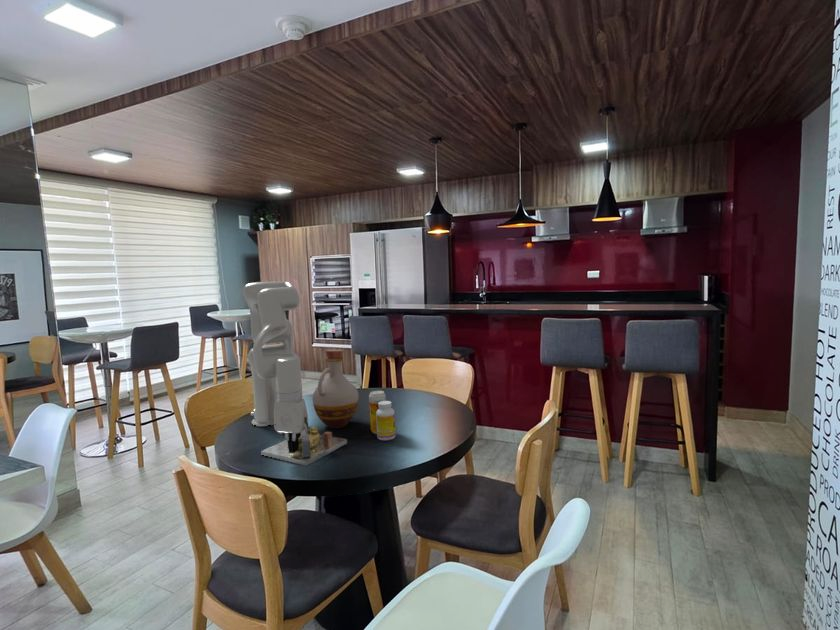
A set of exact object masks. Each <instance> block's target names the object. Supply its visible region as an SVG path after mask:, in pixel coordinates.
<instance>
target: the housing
mask: <svg viewBox="0 0 840 630" xmlns="http://www.w3.org/2000/svg"><path fill="white" fill-rule="evenodd" d="M319 436H320V443H319V444H318V445H317V446H315V447H313V448H310V452H311V456H307V457H303V454H302V450H297V451H296V452H295V453H292V452H291V453H289V449H288V441H287V440H286V439H284V440H283V441H280V442H278V443H276V444H274V445H272V446H270V447H267V448H265V449H263V450H261V451H260V453H261V455H264V456H263V457H265V456H268V457H267V458H270V457H272V458H271V459H274V458H277V459H276V460H278V459H280V461H283V460H284V461H283V462H287V461H288V462H287V463H291V462H292V463H293V464H297V465H301V466H304V467H305V466H306V467H307V466H308V465H310V464H312V463H314V462H316V461H317V460H319V459H321V458H323V457H325V456H327V455H329V454H330V453H332V452H334V451H336V450H337V449H339V448H341V447H343V446H344V445H347V444H348V438H342V437H336V436H333V431H325V432H323V434H320V433H319Z"/></svg>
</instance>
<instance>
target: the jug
mask: <svg viewBox="0 0 840 630" xmlns="http://www.w3.org/2000/svg"><path fill="white" fill-rule="evenodd" d="M343 352H344V350H343V349H326V350H325V354H326V357H325V361H326V362H327V365H328V367H327V368H325V369H324V370H323V371H322V373H321V374H320V376H319V379H318V383H317V387H316V388H315V390H314V391H313V394H312V405H313V409H314V411H315V413H316V416H317V417H318V418H319V419H320V421H321V422H322V423H323V424H324V425H325V426H326V427H327V428H330V429H341V428H344V427H346V426H348V424H349V423H350V422H351V420H352V419H353V417H354V416H355V414H356V413H357V409H358V406H359V397H360V395H359V390H358V389H357V387H356V385H354V384H353V383H352V382H351V381H350V380H349V379H347V378H346V376H344V375H343V374H342V371H341V370H342V363H343V362H342V361H343V358H344V357H343ZM327 373H328V375H327V376H326V374H327ZM325 376H326V377H325ZM324 378H325V379H324Z"/></svg>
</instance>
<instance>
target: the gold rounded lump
mask: <svg viewBox="0 0 840 630" xmlns="http://www.w3.org/2000/svg"><path fill="white" fill-rule="evenodd" d="M318 429H319V428H318V427H317V426H313V427H310V426H309V425H308V428H307V430H308V434H306V435H303V436H300V438H299V439H298V441H299V449H298V450H302V454H303V457H307V456H311V452H310V448H313V447H315V446H317V445H318V444H319V443H320V436H319V434H320V431H319V430H318Z"/></svg>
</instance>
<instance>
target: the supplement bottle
mask: <svg viewBox="0 0 840 630" xmlns="http://www.w3.org/2000/svg"><path fill="white" fill-rule="evenodd" d="M378 406H379V409H378V410H377V411H376V421H377V434H376V436H377V437H376V438H377V439H378V440H380V441H391V440H394V439H395V438H396V436H397V435H396V415H395V409H394V408H392V407H393V406H392V401H390V400H386V401H381V402H379V403H378Z"/></svg>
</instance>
